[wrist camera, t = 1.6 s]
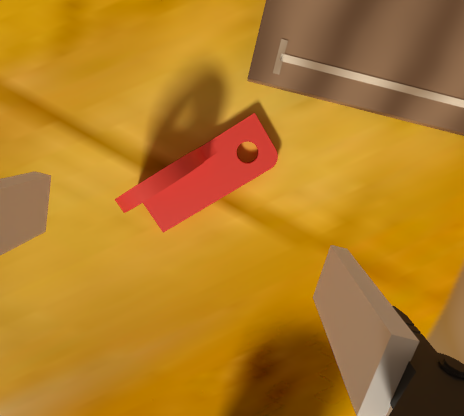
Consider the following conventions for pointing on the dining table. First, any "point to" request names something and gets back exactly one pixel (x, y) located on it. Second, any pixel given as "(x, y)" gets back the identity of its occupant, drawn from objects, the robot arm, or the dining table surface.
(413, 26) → the walnut board
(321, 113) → the dining table surface
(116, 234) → the dining table surface
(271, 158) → the bracket
